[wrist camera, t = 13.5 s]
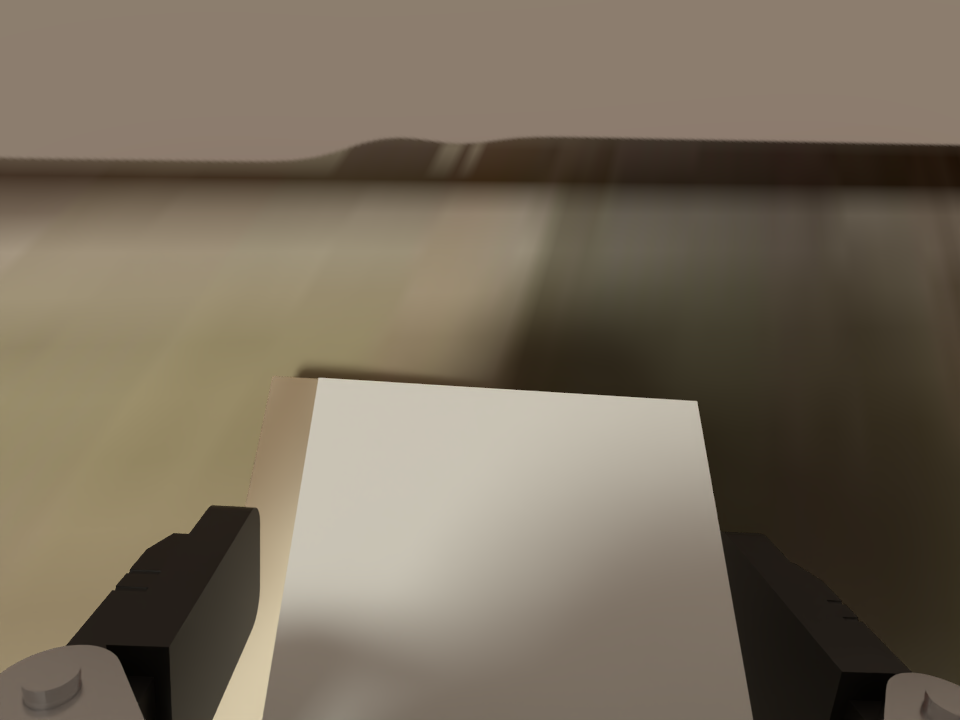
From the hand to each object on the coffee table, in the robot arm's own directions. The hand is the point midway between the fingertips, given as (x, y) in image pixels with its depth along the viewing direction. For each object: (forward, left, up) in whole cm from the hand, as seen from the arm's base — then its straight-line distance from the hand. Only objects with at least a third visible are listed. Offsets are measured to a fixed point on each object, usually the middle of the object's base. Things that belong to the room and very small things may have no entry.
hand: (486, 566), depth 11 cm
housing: (0, +1, -6) cm, 7 cm away
